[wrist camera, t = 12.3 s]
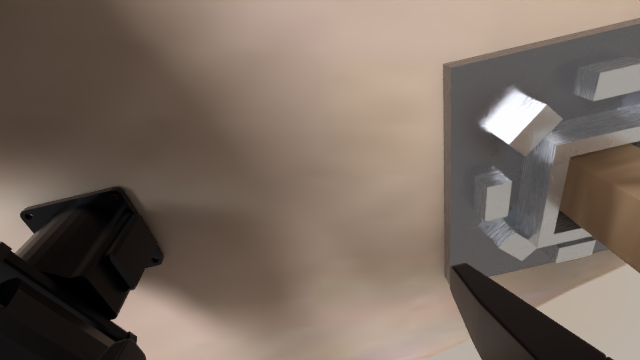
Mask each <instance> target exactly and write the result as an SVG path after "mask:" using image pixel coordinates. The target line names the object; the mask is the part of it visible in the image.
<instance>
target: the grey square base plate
mask: <svg viewBox="0 0 640 360" xmlns="http://www.w3.org/2000/svg"><path fill="white" fill-rule="evenodd" d="M443 95H444V219H445V277H446V279H447V281H448V283H449V284H450V267H451V266H452V265H455V264H459V263H467V264H469V265H470V266H472V267H473V268H475V269H476V270H478V271H480V272H481V273H483V274H484V275H486V276H487V277H490V276H494V275H498V274H503V273H507V272H511V271H516V270H520V269H525V268H529V267H533V266H538V265H542V264H546V263H551V262H555V263H560V262H565V261H569V260H574V259H578V258H582V257H587V256H591V255H592V253H595V252H599V251H603V250H608V248H607V247H606V246H605V245H603V244H602V243H601V242H599V241H598V240H597V239H596V238H594V237H593V236H592V235H591V234H589V233H588V232H587V231H585V230H584V229H583V228H582V227H580V226H579V225H578V224H577V223H575V222H574V221H573V220H571V219H570V218H569V217H568V216H566V215H565V214H564V213H563V212H561V211H560V210H559V208H560V203H561V198H562V194H563V189H564V184H565V180H566V175H567V170H568V166H569V161H570V157H572V156H577V155H581V154H585V153H590V152H594V151H598V150H603V149H607V148H611V147H616V146H620V145H624V144H629V143H630V144H632V145H634V146H636V147H639V148H640V18H639V19H634V20H630V21H626V22H621V23H617V24H613V25H609V26H604V27H600V28H596V29H592V30H587V31H583V32H579V33H575V34H570V35H566V36H562V37H557V38H553V39H549V40H545V41H540V42H536V43H532V44H528V45H523V46H519V47H515V48H510V49H506V50H502V51H498V52H493V53H489V54H485V55H481V56H476V57H472V58H468V59H464V60H459V61H455V62H451V63H446V64H443Z"/></svg>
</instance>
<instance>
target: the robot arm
mask: <svg viewBox="0 0 640 360" xmlns="http://www.w3.org/2000/svg"><path fill="white" fill-rule="evenodd" d="M113 194H117V195H118V196H119V197H116V196H114V195H113ZM30 214H31V215H33V216H31V215H30ZM20 217H21V219H22V220H23V221H24V222H25V223H26V225H27V226H28V227H29V228H30V229H31V230H32V232H33V233H34V235H33V236H32V237H31V238H30V239H29V240H28V241H27V242H26V243H25V244H24V245H23V246H22V247H21V248H20V249H19V250H18V251H17V252H16V253H13V252H12V251H11V250H12V248H10V247H9V246H7V245H6V244H5V243H3V242H0V360H146V357H145V354H144V353H143V351H142V350H141V349H140V348H139V347H138V345H137V344H136V343H137V336H135V335H134V334H133V333H131V332H126V331H125V330H124V329H122V328H121V327H119V326H118V325H116V324H115V323H113V322H112V321H111V320H112V319H115V318H116V317H117V316H118V314H119V312H120V309H121V307H122V305H123V303H124V301H125V299H126V297H127V295H128V293H129V291H130V290H134V289H135V288H136V286H137V284H138V282H139V280H140V278H141V276H142V274H143V272H144V270H145V268H148V267H152V266H156V265H159V264H161V263H162V261H163V259H164V255H163V253H162V252H161V250H160V248H159V247H158V245H157V241H156V240H155V238H154V236H153V235H152V233H151V231H150V230H149V228H148V227H147V225H146V223H145V222H144V220H143V218H142V217H141V216H140V215H139V214H138V212H137V211H136V209H135V207H134V206H133V204H132V202H131V201H130V199H129V198H128V196H127V194H126V193H125V191H124V190H123V189H121V188H118V187H112V188H108V189H104V190H99V191H95V192H91V193H86V194H82V195H78V196H74V197H69V198H65V199H61V200H56V201H52V202H48V203H44V204H39V205H35V206H31V207H27V208H26V209H24V210H23V211H22V212H21V213H20ZM154 257H155V258H157V259H155V258H154ZM450 290H451V293H452V295H453V298H454V300H455V302H456V304H457V307H458V309H459V311H460V314H461V316H462V318H463V321H464V323H465V325H466V327H467V330H468V332H469V334H470V337H471V339H472V341H473V343H474V345H475V347H476V349H477V351H478V353H479V355H480V357H481V359H482V360H613V359H612V358H610V357H607V358H606V355H605V354H604V353H602V352H601V351H599V350H598V349H596V348H595V347H593V346H592V345H590V344H589V343H587V342H586V341H584V340H583V339H581V338H580V337H578V336H576V335H575V334H573V333H572V332H570V331H569V330H567V329H566V328H564V327H563V326H561V325H560V324H558V323H557V322H555V321H554V320H552V319H551V318H549V317H548V316H546V315H544V314H543V313H542V312H540V311H539V310H537V309H536V308H534V307H533V306H531V305H530V304H528V303H526V302H525V301H523V300H522V299H520V298H519V297H517V296H516V295H514V294H513V293H511V292H510V291H508V290H507V289H505V288H504V287H502V286H501V285H499V284H498V283H496V282H495V281H493V280H492V279H490V278H489V277H487V276H486V275H484V274H483V273H481V272H480V271H478V270H476V269H475V268H473V267H472V266H470V265H469V264H467V263H459V264H455V265H452V266H451V267H450Z"/></svg>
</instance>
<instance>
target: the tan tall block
mask: <svg viewBox="0 0 640 360" xmlns="http://www.w3.org/2000/svg"><path fill="white" fill-rule="evenodd" d="M559 210H560V211H561V212H563V213H564V214H565V215H566V216H568V217H569V218H570V219H571V220H573V221H574V222H575V223H577V224H578V225H579V226H580V227H582V228H583V229H584V230H585V231H587V232H588V233H589V234H591V235H592V236H593V237H594V238H596V239H597V240H598V241H599V242H601V243H602V244H603V245H605V246H606V247H607V248H608V249H610V250H611V251H612V252H613V253H615V254H616V255H617V256H619V257H620V258H621V259H622V260H624V261H625V262H626V263H627V264H629V265H630V266H631V267H633V268H634V269H635V270H636V271H638V272H639V273H640V148H639V147H636V146H634V145H632V144H630V143H629V144H624V145H620V146H616V147H611V148H607V149H603V150H598V151H594V152H590V153H585V154H581V155H577V156H572V157H570V161H569V166H568V170H567V175H566V180H565V184H564V189H563V194H562V198H561V203H560V208H559Z"/></svg>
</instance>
